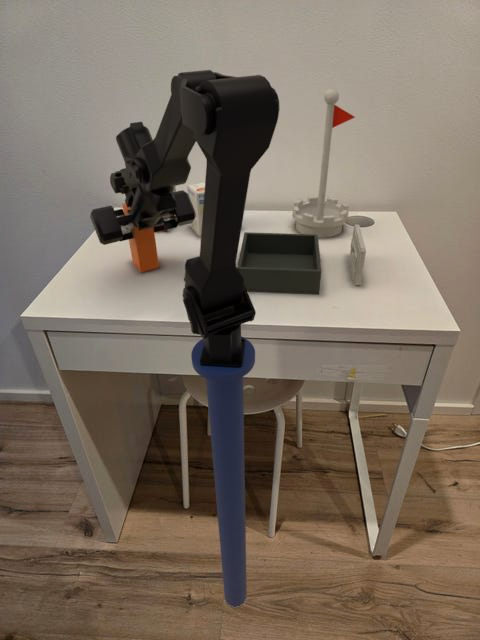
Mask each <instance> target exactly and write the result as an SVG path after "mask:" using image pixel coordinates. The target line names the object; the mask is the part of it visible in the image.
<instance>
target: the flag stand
mask: <svg viewBox="0 0 480 640" xmlns="http://www.w3.org/2000/svg"><path fill="white" fill-rule="evenodd" d="M339 98H340V94H339V92H338V90H337V89H336V88H329V89H327V90H326V92H325V94H324V97H323V99H324V102H325V103H326V113H325V123H324V134H323V144H322V156H321V165H320V177H319V187H318V189H319V190H318V196H307V201H304V200H303V199H299V198H298V199H297V200H296V201H295V202H293V203H294V204H293V206H292V214H291V215H292V218H293V220H294V221H295V229H296V231H297V232H299V234H318V239H323V238H325V239H326V238H332V237H335V236H338V235H339V234H340V233H341V232H342V231H343V225H344V224H346V222H347V221H348V219H349V209H350V206H349V204H348V203H346V202H341V203H340V204H339V203H338V201H339V198H335V197H330V196H328V197H327V198H326V192H327V182H328V172H329V164H330V163H329V162H330V154H331V145H332V144H331V143H332V133H333V128H335V127H338V126H340V125H343V124H344V123H347V122H349V121H350V120H353V119H354V118H356V116H354V115H353V114H352V113H350V112H348V111H346V110H344V109H342V108H341V107H339V106H338V105H336V104H337V102H338V101H339Z"/></svg>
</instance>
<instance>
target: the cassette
mask: <svg viewBox="0 0 480 640" xmlns="http://www.w3.org/2000/svg"><path fill="white" fill-rule="evenodd" d="M366 254H367V248H366V246H365V240H364V238H363V234H362V230H361V227H360V223H354V224H353V230H352V237H351V242H350V250H349V259H348V264H349V269H350V270H349V271H350V275H351V280H352V282H354V285H355V286H361V282H362V276H363V271H364V266H365V259H366Z"/></svg>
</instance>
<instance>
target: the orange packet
mask: <svg viewBox="0 0 480 640" xmlns="http://www.w3.org/2000/svg"><path fill="white" fill-rule="evenodd" d="M121 205H122V209H123V212H124V214H125V216H126V215H128V214H127V210H130V207H127V206H126V203H125V202H124V203H122V204H121ZM129 215H130V214H129ZM130 224H131V223H130ZM132 224H133V223H132ZM131 232H132V235H133V237H134V238H133V239H129V240H128V244H129V249H130V254H131V259H132V263H133V265H134V266H135V267H136V268H137V270H138V271H139V272H140V273H144V272H148V271H152V270H155V269H159V268H160V265H159V264H160V263H159V257H158V250H157V242H156V235H155V233H154V227H153V228H148V229H144V230H140V231H139V229H138V227H136V228H132V229H131Z"/></svg>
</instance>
